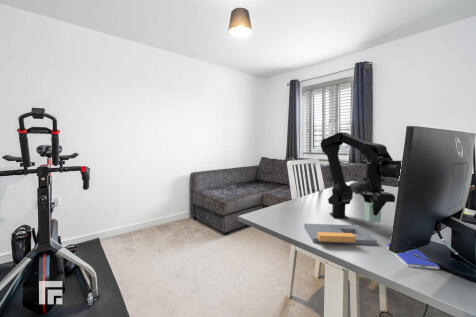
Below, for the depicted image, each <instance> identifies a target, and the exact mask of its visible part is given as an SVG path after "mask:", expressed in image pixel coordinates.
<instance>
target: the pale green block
mask: <svg viewBox="0 0 476 317" xmlns="http://www.w3.org/2000/svg"><path fill="white" fill-rule="evenodd" d="M381 218H382V209H381V210H380V211H379V213H378V214H377V215H374V214H373V202H365V201H364V203H363V219H364V220H365V221H367V222H368V223H381V221H382V220H381Z"/></svg>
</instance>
